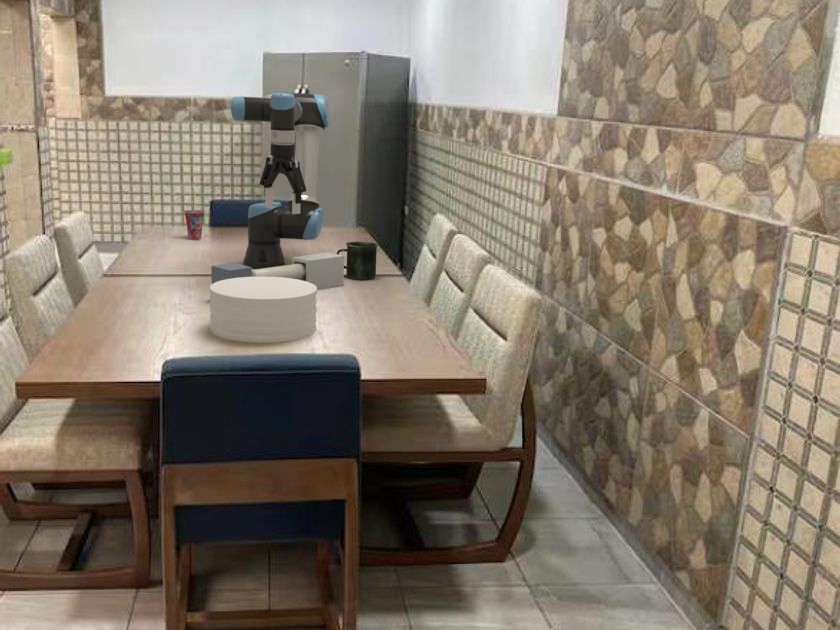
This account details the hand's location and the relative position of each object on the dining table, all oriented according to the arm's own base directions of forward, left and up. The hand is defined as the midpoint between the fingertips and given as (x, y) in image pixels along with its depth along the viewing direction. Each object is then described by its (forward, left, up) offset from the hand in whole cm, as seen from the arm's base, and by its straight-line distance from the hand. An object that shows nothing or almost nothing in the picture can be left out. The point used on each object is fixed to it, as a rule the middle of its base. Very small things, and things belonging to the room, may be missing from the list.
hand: (282, 210), depth 271 cm
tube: (+6, -10, -22) cm, 25 cm away
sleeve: (+6, +10, -25) cm, 28 cm away
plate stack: (+37, -37, -26) cm, 58 cm away
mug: (+3, +31, -25) cm, 40 cm away
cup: (-96, +32, -25) cm, 104 cm away
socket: (+6, -25, -25) cm, 36 cm away
